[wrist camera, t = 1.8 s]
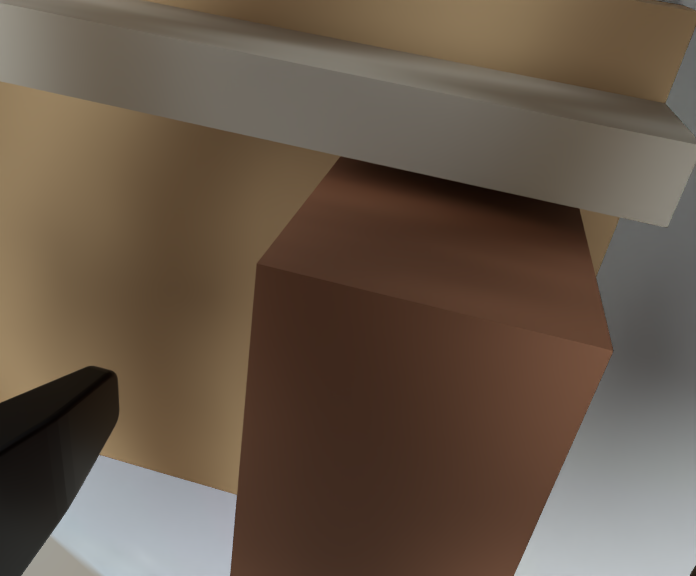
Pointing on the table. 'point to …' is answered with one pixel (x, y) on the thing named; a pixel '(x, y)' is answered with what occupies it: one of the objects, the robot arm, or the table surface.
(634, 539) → the table surface
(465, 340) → the brown block with peg
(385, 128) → the board
